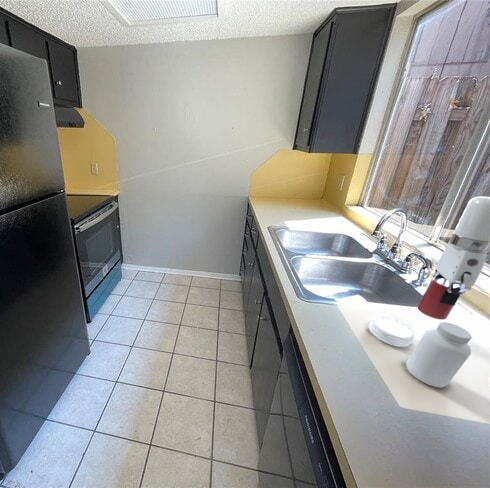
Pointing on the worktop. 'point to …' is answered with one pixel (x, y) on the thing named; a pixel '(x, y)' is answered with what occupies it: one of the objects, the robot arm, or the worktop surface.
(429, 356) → the pill bottle
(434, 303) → the can
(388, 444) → the worktop surface
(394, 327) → the coaster
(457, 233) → the robot arm
